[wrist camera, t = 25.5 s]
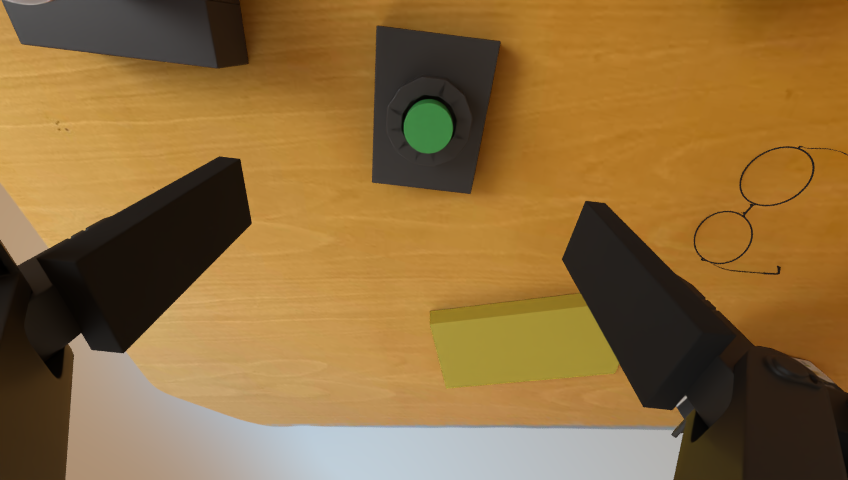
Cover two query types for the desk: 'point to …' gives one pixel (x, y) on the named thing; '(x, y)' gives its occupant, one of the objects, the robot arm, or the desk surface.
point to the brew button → (428, 126)
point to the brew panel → (439, 80)
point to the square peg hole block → (137, 29)
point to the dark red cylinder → (30, 1)
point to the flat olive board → (520, 342)
